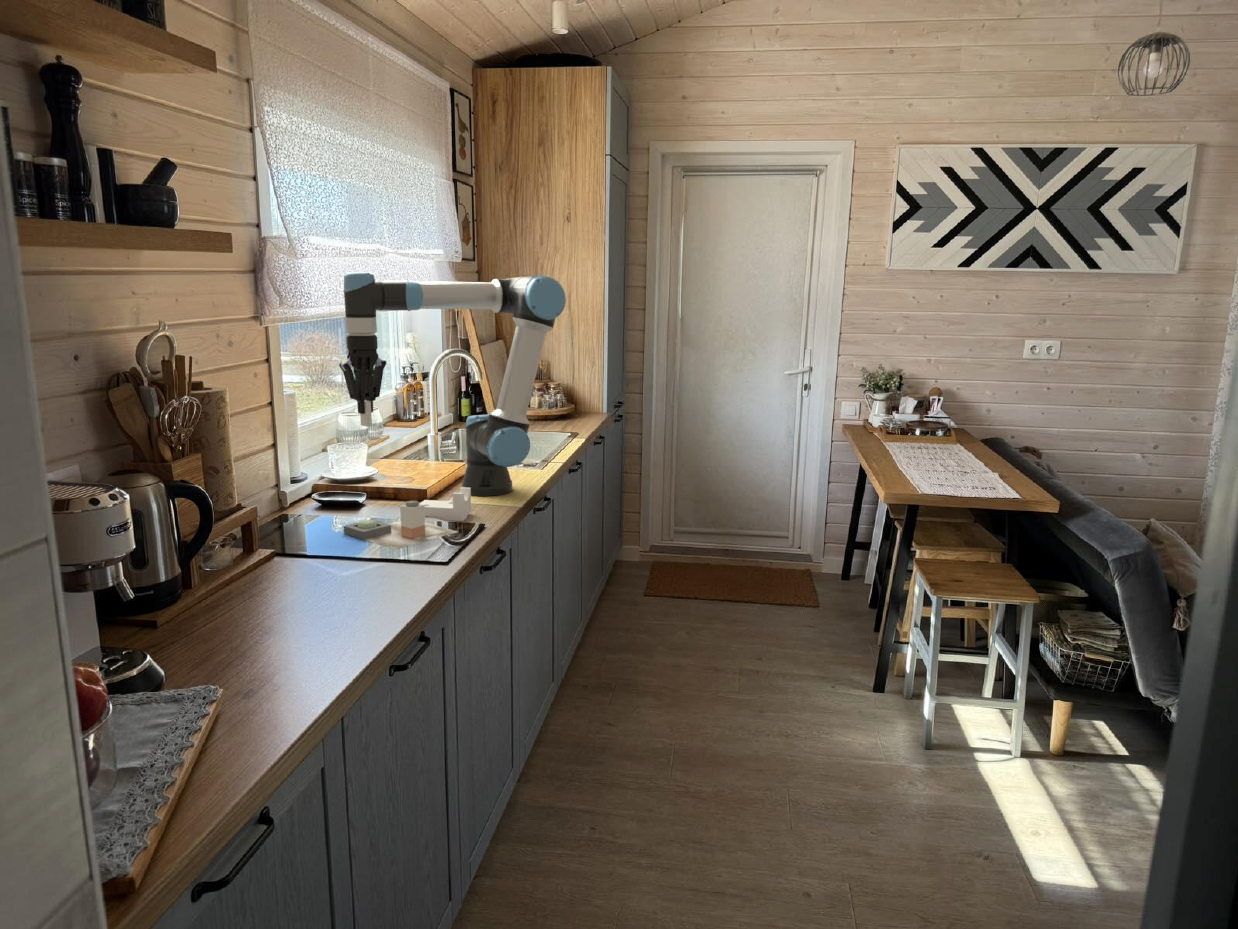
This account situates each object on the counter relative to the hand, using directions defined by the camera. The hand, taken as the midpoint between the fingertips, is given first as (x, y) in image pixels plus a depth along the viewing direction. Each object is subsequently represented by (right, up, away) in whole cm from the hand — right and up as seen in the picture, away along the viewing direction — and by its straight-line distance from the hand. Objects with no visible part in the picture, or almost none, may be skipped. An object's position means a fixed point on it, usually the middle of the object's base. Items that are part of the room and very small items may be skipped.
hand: (366, 425), depth 225 cm
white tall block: (+16, -27, -16) cm, 35 cm away
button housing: (+4, -27, -14) cm, 31 cm away
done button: (+4, -27, -14) cm, 31 cm away
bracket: (+19, -24, +6) cm, 32 cm away
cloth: (+13, -28, -13) cm, 33 cm away
